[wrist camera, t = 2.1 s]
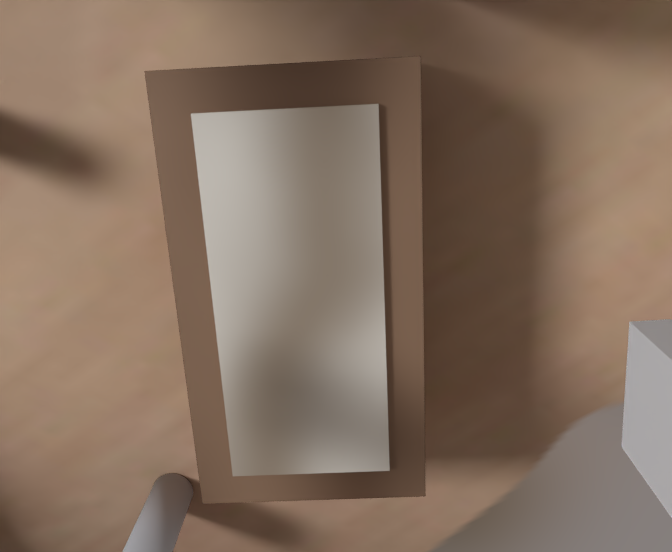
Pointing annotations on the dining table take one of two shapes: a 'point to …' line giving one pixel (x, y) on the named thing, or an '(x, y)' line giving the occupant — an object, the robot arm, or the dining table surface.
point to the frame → (297, 273)
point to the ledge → (161, 515)
